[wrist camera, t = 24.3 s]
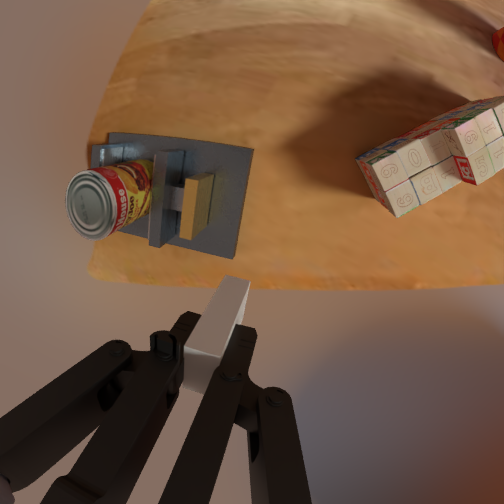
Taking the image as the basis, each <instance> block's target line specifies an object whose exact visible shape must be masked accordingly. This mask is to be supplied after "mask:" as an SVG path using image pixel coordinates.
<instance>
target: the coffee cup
mask: <svg viewBox="0 0 504 504" xmlns="http://www.w3.org/2000/svg"><path fill="white" fill-rule="evenodd" d="M492 43H493V46H494V49H495V51H496V53H497V54H498V56H499V57H500V58H501V59H502V60H503V61H504V27H503V28H501V29H500V30H498V31H497V32H495V33H494V34H493V36H492Z"/></svg>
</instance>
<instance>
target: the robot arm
mask: <svg viewBox="0 0 504 504" xmlns="http://www.w3.org/2000/svg"><path fill="white" fill-rule="evenodd" d="M249 286H250V281H249V280H245V279H241V278H237V277H233V276H229V275H225V276H224V278H223V280H222V282H221V283H220V285H219V287H218V288H217V290H216V292H215V294H214V295H213V297H212V299H211V300H210V302H209V304H208V306H207V307H206V309H205V311H204V312H203V314H202V315H200V314H196V313H193V312H190V311H187V312H186V313H184V314H182V315H181V316H180V317H179V319H178V320H177V322H176V323H175V324H174V326H173V327H172V329H171V330H170V331H165V330H164V331H157V332H154V333H153V334H151V335H150V347H151V348H150V351H135V350H132V349H131V347H130V345H129V344H128V343H127V342H125V341H123V340H111V341H109V342H107V343H105V344H104V345H103V346H101V347H100V348H98V349H97V350H95V351H94V352H93V353H91V354H90V355H88V356H87V357H86V358H84V359H83V360H81V361H80V362H78V363H77V364H75V365H74V366H73V367H71V368H70V369H68V370H67V371H66V372H64V373H63V374H61V375H60V376H59V377H57V378H56V379H54V380H53V381H52V382H50V383H49V384H47V385H46V386H44V387H43V388H42V389H40V390H39V391H37V392H36V393H35V394H33V395H32V396H31V397H29V398H28V399H26V400H25V401H23V402H22V403H21V404H19V405H18V406H17V407H15V408H14V409H12V410H11V411H10V412H8V413H7V414H5V415H4V416H3V417H1V418H0V504H14V502H15V499H14V496H13V494H12V493H13V492H16V491H19V490H21V489H23V488H25V487H27V486H28V485H30V484H31V483H33V482H34V481H35V480H37V479H38V478H39V477H40V476H42V475H43V474H44V473H45V472H46V471H47V470H49V469H50V468H51V467H52V466H53V465H55V464H56V463H57V462H58V461H59V460H60V459H61V458H63V457H64V456H65V455H66V454H67V453H69V452H70V451H71V450H72V449H73V448H74V447H75V446H77V445H78V444H79V443H80V442H81V441H82V440H83V439H85V437H87V436H88V435H89V434H90V433H91V432H93V431H94V430H95V429H96V428H97V427H98V426H99V425H100V426H99V427H98V429H97V430H96V432H95V433H94V435H93V436H92V438H91V440H90V441H89V442H88V444H87V446H86V447H85V449H84V450H83V452H82V453H81V455H80V457H79V458H78V460H77V462H76V463H75V464H74V466H73V468H72V469H71V471H70V472H69V473H68V474H67V475H65V476H60V477H58V478H57V479H56V480H55V481H54V483H53V484H52V485H51V487H50V488H49V490H48V492H47V493H46V495H45V496H44V498H43V500H42V501H41V503H40V504H126V503H127V501H128V499H129V497H130V495H131V492H132V490H133V488H134V486H135V484H136V482H137V480H138V478H139V476H140V474H141V472H142V470H143V468H144V466H145V464H146V462H147V459H148V457H149V455H150V453H151V451H152V449H153V447H154V445H155V443H156V441H157V439H158V437H159V435H160V433H161V431H162V429H163V427H164V425H165V423H166V420H167V418H168V416H169V414H170V412H171V410H172V408H173V406H174V404H175V402H176V400H177V398H178V396H179V388H180V386H181V384H182V382H183V388H186V389H189V390H192V391H195V392H199V393H202V394H204V396H203V399H202V401H201V404H200V406H199V408H198V411H197V413H196V416H195V418H194V421H193V423H192V425H191V427H190V430H189V432H188V435H187V437H186V439H185V442H184V444H183V447H182V449H181V451H180V454H179V456H178V459H177V461H176V463H175V465H174V468H173V470H172V473H171V475H170V477H169V480H168V482H167V484H166V487H165V489H164V491H163V494H162V496H161V498H160V501H159V503H158V504H209V501H210V498H211V495H212V492H213V489H214V486H215V483H216V479H217V476H218V473H219V470H220V466H221V463H222V460H223V457H224V453H225V450H226V447H227V443H228V440H229V437H230V433H231V430H232V427H233V423H235V424H237V425H239V426H240V427H242V428H244V429H246V430H247V440H248V456H249V470H250V485H251V498H252V504H312V502H311V497H310V491H309V486H308V481H307V476H306V471H305V465H304V460H303V455H302V450H301V445H300V440H299V434H298V429H297V425H296V419H295V414H294V410H293V405H292V399H291V397H290V395H289V394H288V393H287V392H286V391H285V390H283V389H281V388H278V387H267V388H265V389H263V388H261V387H259V386H257V385H255V384H254V383H253V382H252V381H251V380H250V378H249V376H248V369H249V366H250V363H251V359H252V355H253V351H254V347H255V343H256V339H257V333H256V330H255V328H251V327H247V326H243V325H241V322H242V319H243V315H244V310H245V305H246V301H247V295H248V291H249Z"/></svg>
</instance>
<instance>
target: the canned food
mask: <svg viewBox="0 0 504 504" xmlns="http://www.w3.org/2000/svg"><path fill="white" fill-rule="evenodd" d="M153 164H154V163H153V162H152V161H149V160H145V159H139V160H133V161H128V162H122V163H117V164H112V165H107V166H102V167H97V168H93V169H88V170H84V171H81V172H79V173H77V174H76V175H75V176H74V177H73V178H72V179H71V181H70V182H69V184H68V188H67V190H66V197H65V203H66V211H67V215H68V218H69V220H70V222H71V224H72V226H73V227H74V229H75V230H76V231H77V232H78V233H79V234H80V235H81V236H83V237H84V238H86V239H88V240H93V241H96V240H101V239H103V238H105V237H107V236H109V235H110V234H112V233H114V232H116V231H117V230H119V229H121V228H123V227H125V226H127V225H128V224H130V223H132V222H134V221H136V220H138V219H140V218H141V217H143V216H145V215H147V214H149V209H150V196H151V184H152V174H153Z"/></svg>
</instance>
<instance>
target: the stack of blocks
mask: <svg viewBox="0 0 504 504" xmlns="http://www.w3.org/2000/svg"><path fill="white" fill-rule="evenodd" d="M355 160H356V162H357V164H358V165H359V167H360V169H361V171H362V173H363V175H364V177H365V179H366V181H367V183H368V185H369V187H370V189H371V191H372V193H373V195H374V197H375V199H376V200H377V201H378V202H380V203H381V204H382V205H383V206H384V207H385V208H387V209H388V210H389V212H391V213H392V214H393V215H394V216H395V217H396V218H398V217H400V216H402V215H404V214H405V213H407V212H409V211H411V210H413V209H414V208H416V207H418V206H419V205H422V204H424V203H426V202H428V201H429V200H431V199H433V198H435V197H436V196H438V195H440V194H441V193H443V192H446V191H447V190H449V189H451V188H452V187H454V186H455V185H457V184H459V183H460V182H461V181H464V182H467V183H470V184H473V185H479V184H480V183H482V182H484V181H485V180H487V179H488V178H490V177H491V176H493V175H495V173H496V172H498V171H500V170H501V169H503V168H504V96H499V97H494V98H489V99H484V100H481V99H480V100H475V101H471V102H469V103H467V104H464V105H462V106H460V107H456V108H454V109H452V110H450V111H448V112H446V113H444V114H441V115H439V116H437V117H435V118H433V119H431V120H429V121H428V122H427V123H424V124H422V125H420V126H418V127H416V128H414V129H412V130H411V131H409V132H407V133H405V134H403V135H401V136H399V137H397V138H394V139H391V140H389V141H387V142H385V143H383V144H381V145H379V146H377V147H375V148H374V149H372V150H370V151H368V152H366V153H364V154H362V155H361V156H359V157H357V158H355Z"/></svg>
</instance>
